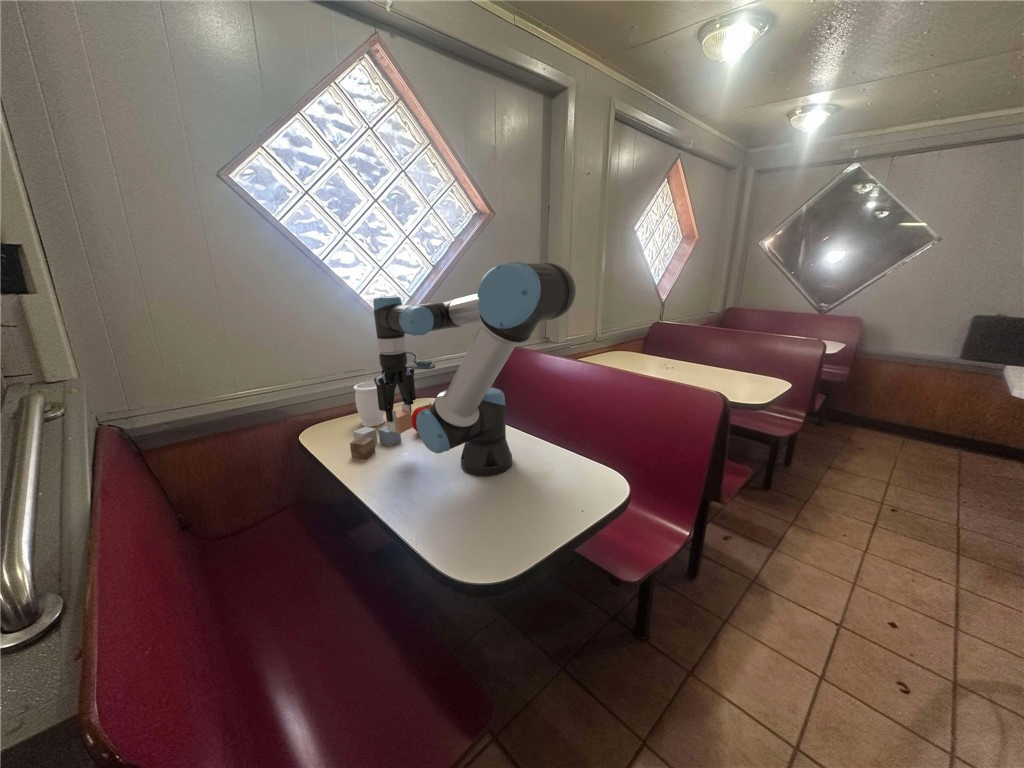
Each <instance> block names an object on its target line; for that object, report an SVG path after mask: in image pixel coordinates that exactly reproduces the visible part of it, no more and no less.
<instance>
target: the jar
mask: <svg viewBox="0 0 1024 768" xmlns="http://www.w3.org/2000/svg"><path fill="white" fill-rule="evenodd" d="M353 390H354V391H355V393H354V395H355V397H354V398H355V399H354V400H355V401H354V402H355V406H356V410H357V412H358V415H359V417H360V420H361V423H360V424H361V426H363V427H365V426H366V427H370V428H373V427H378V426H380V425H383V424H384V422H385V419H384V416H385V413H386V412H385V411H381V410H379V405H378V396H377V387H376V384H375V381H364V382H359V383H358V384H357V383H356V384H355V385H354V386H353Z"/></svg>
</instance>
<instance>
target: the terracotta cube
mask: <svg viewBox="0 0 1024 768" xmlns="http://www.w3.org/2000/svg"><path fill="white" fill-rule="evenodd" d="M395 411H396V421H397V429H398V432H397V433H400V434H403V433H404V432H406V431H409V430H411V429H412V428H413V427H412V417H411V416H412V412H408V411H404V410H402V409H397V410H395ZM386 423H387V426H388V430H389V423H388V422H387V421H386Z"/></svg>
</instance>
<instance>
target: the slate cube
mask: <svg viewBox="0 0 1024 768" xmlns="http://www.w3.org/2000/svg"><path fill="white" fill-rule="evenodd" d="M377 431H378V438H379V443H380V444H381V445H384V446H386V447H391V446H394V445H396V444H399V443H401V442H402V435H401V434H402V433H397V432H393V431H389V430H388V425H386V426H383V427H380V428H377Z"/></svg>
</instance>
